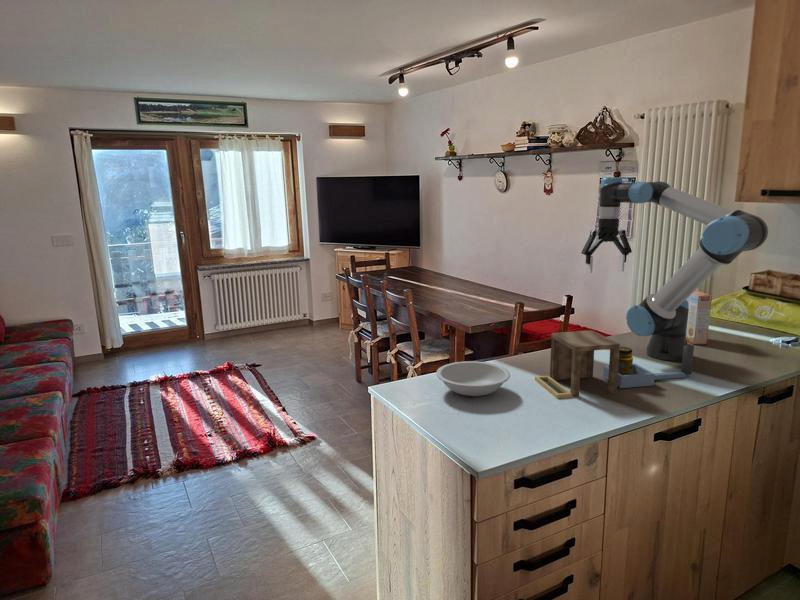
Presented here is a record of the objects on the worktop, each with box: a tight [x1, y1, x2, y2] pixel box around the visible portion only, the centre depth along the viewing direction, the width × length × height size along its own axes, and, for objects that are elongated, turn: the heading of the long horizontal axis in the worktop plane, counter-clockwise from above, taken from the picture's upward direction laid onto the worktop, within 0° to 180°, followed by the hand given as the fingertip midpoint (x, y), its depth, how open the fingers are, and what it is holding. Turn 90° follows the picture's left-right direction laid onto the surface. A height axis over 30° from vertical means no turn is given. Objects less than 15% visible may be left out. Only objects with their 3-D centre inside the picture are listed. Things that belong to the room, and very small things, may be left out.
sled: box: [602, 343, 695, 389], centre depth 183 cm, size 30×11×11 cm, turn 100°
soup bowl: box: [435, 360, 511, 397], centre depth 177 cm, size 24×24×7 cm
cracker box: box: [686, 289, 713, 345], centre depth 227 cm, size 14×6×21 cm, turn 179°
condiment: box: [603, 346, 634, 385], centre depth 182 cm, size 7×8×12 cm
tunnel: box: [549, 329, 621, 398], centre depth 179 cm, size 15×17×16 cm
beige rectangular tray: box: [534, 375, 573, 399], centre depth 178 cm, size 5×17×1 cm, turn 10°
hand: (605, 271), depth 214 cm, fingers open, 13 cm apart
